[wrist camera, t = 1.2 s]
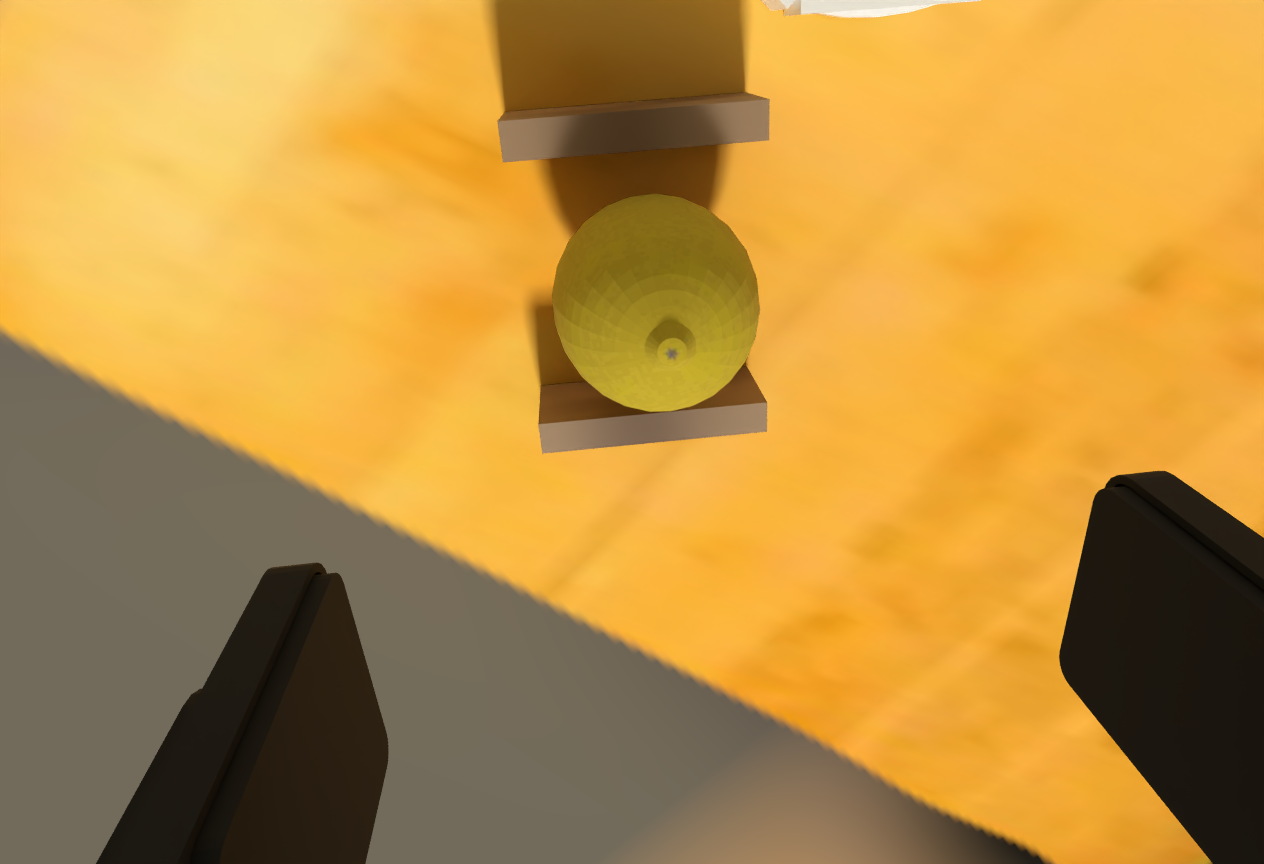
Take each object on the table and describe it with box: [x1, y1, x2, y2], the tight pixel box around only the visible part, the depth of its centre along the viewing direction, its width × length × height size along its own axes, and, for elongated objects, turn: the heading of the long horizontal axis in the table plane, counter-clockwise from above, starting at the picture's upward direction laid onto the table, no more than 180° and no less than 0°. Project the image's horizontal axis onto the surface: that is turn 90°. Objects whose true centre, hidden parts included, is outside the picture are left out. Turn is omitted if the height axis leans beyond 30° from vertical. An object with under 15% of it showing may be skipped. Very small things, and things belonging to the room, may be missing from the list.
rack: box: [498, 92, 769, 454], centre depth 24 cm, size 7×10×3 cm
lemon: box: [552, 194, 760, 412], centre depth 22 cm, size 6×6×8 cm
